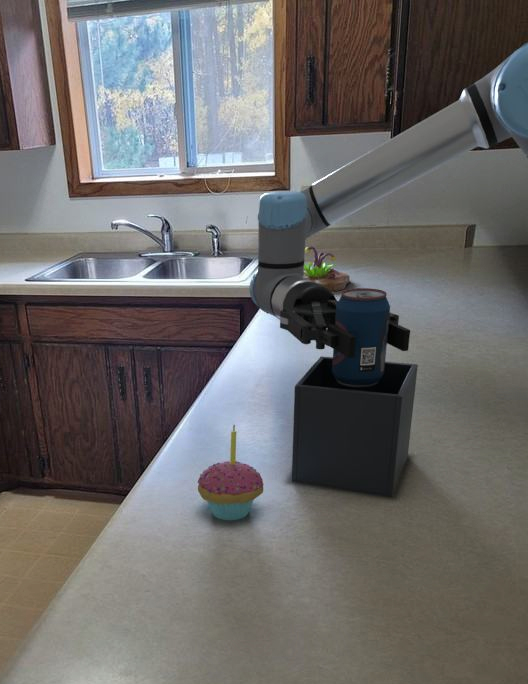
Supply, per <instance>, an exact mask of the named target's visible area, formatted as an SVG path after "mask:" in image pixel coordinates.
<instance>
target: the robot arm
mask: <svg viewBox="0 0 528 684" xmlns="http://www.w3.org/2000/svg"><path fill="white" fill-rule="evenodd" d="M510 138H512V139H513V140H514V142H515V143H516V144H517V146H518V147H519V148H520V150H521V151H522V152H523V154H524V155H525V156H526V158H527V159H528V42H526V43H524V44H523V45H521V47H519V48H518V49H516V50H514V52H512V53H511V54H510V55H509V56H508V57H506V58H505V59H504V60H503V61H502V62H501V63H500V64H499V65H497V67H495V68H494V69H492V70H491V71H490V72H489V73H487V74H486V75H484V76H483V77H482V78H480V79H479V80H477V81H476V82H474V83H473V84H471V85H469V86H467V87H465V88H464V89H463V90H462V92H461V95H460V97H459V99H458V100H457V101H455V102H452V103H451V104H449V105H448V106H446V107H444V108H443V109H441V110H439V111H437V112H435V113H434V114H432V115H430V116H428V117H426V118H425V119H423V120H422V121H420V122H418V123H415V124H414V125H413V126H411V127H410V128H408V129H406V130H404V131H402V132H401V133H399V134H397V135H395V136H394V137H392V138H390V139H389V140H387V141H385V142H384V143H381V144H379V145H378V146H376V147H374V148H373V149H371V150H370V151H368V152H366V153H365V154H363V155H361V156H359V157H357V158H356V159H354V160H352V161H350V162H349V163H346V164H345V165H343V166H341V167H339V168H338V169H336V170H335V171H333V172H331V173H329V174H328V175H325V176H324V177H323V178H321V179H319V180H317V181H316V182H313V183H312V184H311V185H309V186H306V187H305V188H304V189H303V188H302V190H300V191H296V190H295V191H293V190H283V191H281V190H279V191H270V192H265V193H263V194H262V195H261V196H260V198H259V203H258V213H257V221H258V231H257V232H258V234H257V235H258V237H257V238H258V239H257V241H258V243H257V244H258V248H257V249H258V257H257V259H258V261H257V270H256V271H255V272H254V273H253V275H252V277H251V279H250V282H249V288H248V289H249V296H250V298H251V300H252V302H253V303H254V304H255V305H256V306H257V307H258V308H259V309H260V310H261V311H262V312H264V313H266V314H267V315H271V316H273V317H274V318H276V319H278V320H279V328H280V329H282V330H285V331H287V332H288V333H290V334H291V335H292V336H293V337H294V338H295V339H296V340H298V341H299V342H300V343H301V344H303V345H310V344H311V343H312V341H315V349H316V350H325V349H326V346H327V347H329V348H331V349H332V350H333V349H335V350H336V351H338V352H340V353H341V354H343V355H345V356H347V357H348V358H353V357H355V343H356V336H354V335H352V334H350V333H348V332H346V331H344V330H342V329H341V328H339V327H337V326H335V315H336V305H337V303H338V301H339V300H337V297H336V296H335V294H334V292H333V291H330V290H329V289H328V288H326V287H324V286H322V285H320V284H317V283H315V282H313V281H311V280H309V279H306V278H304V264H305V255H306V254H305V253H306V251H305V249H306V240H307V239H309V238H310V237H311V236H312V237H313V235H315V234H317V233H319V232H321V231H323V230H324V229H327V228H328V227H330V226H332V225H334V224H335V223H337V222H339V221H341V220H343V219H345V218H347V217H348V216H350V215H352V214H354V213H356V212H358V211H360V210H362V209H363V208H365V207H367V206H369V205H372V203H374V202H376V201H378V200H381V199H382V198H384V197H386V196H387V195H390V194H391V193H393V192H395V191H397V190H399V189H401V188H403V187H404V186H407V185H408V184H410V183H412V182H414V181H416V180H418V179H420V178H422V177H423V176H426V175H427V174H429V173H431V172H432V171H434V170H436V169H438V168H440V167H442V166H444V165H446V164H447V163H449V162H451V161H453V160H455V159H457V158H459V157H461V156H462V155H464V154H467V153H468V152H470V151H473V150H474V149H476V148H479V147H480V148H483V149H486V150H487V149H489V148H491V147H493V146H495V145H497V144H499V143H501V142H503V141H506V140H508V139H510ZM399 320H400V315H399V314H396V313H393V312H390V314H389V325H388V336H387V345H390V346H392V347H393V348H396V349H398V350H400V351H401V352H407V351H409V346H410V338H411V337H410V336H411V329H409V328H406V327H405V326H403V325H400V324H399V322H400V321H399Z"/></svg>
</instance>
